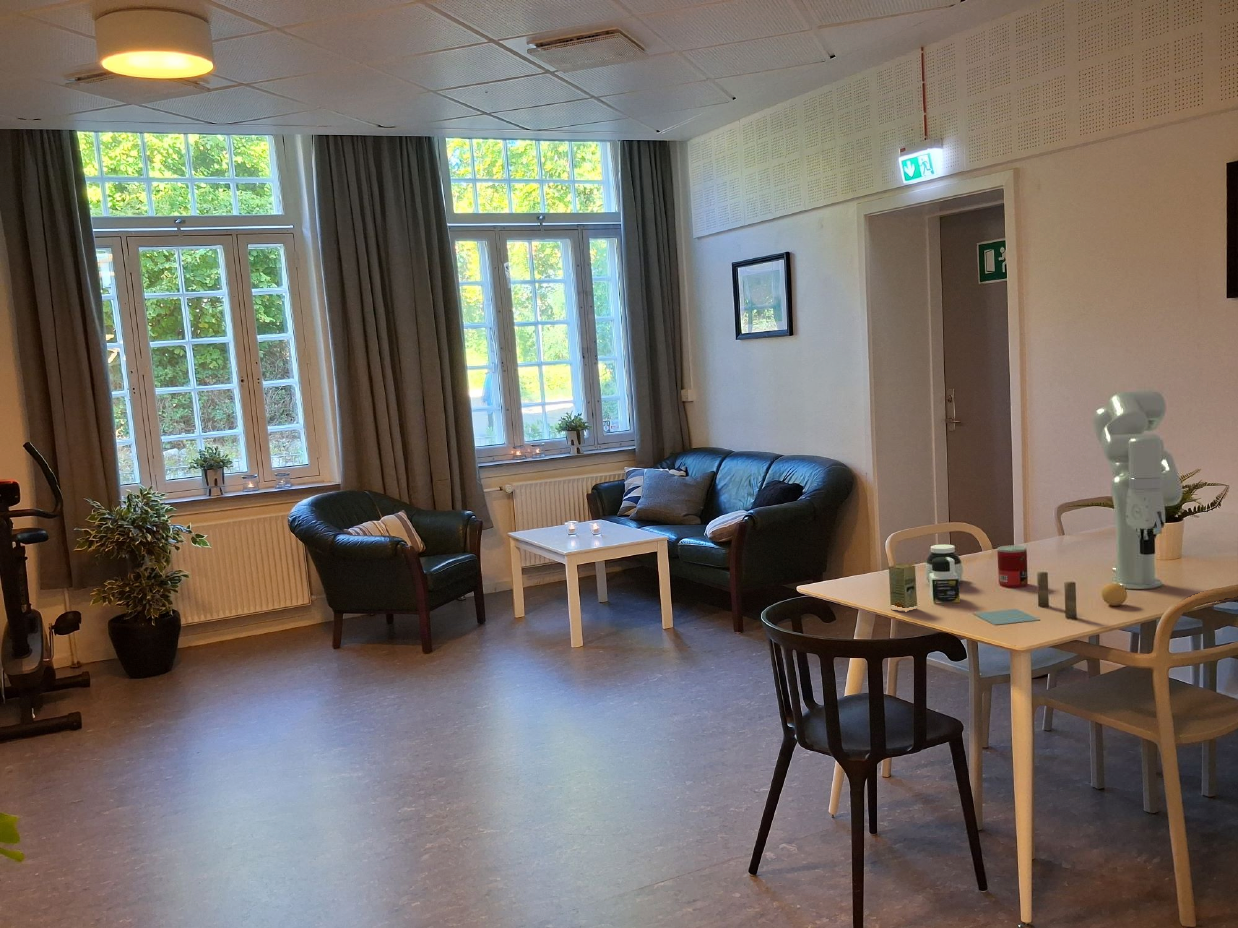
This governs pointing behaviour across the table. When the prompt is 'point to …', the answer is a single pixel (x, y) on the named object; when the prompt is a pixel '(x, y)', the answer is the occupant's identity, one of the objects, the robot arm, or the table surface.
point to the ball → (1114, 594)
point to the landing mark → (1006, 616)
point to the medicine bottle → (944, 581)
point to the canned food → (1012, 566)
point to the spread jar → (944, 552)
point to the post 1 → (1042, 589)
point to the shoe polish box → (902, 585)
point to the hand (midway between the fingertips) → (1147, 553)
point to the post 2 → (1070, 600)
